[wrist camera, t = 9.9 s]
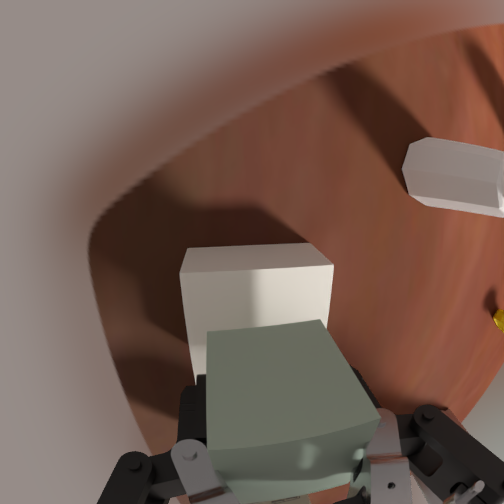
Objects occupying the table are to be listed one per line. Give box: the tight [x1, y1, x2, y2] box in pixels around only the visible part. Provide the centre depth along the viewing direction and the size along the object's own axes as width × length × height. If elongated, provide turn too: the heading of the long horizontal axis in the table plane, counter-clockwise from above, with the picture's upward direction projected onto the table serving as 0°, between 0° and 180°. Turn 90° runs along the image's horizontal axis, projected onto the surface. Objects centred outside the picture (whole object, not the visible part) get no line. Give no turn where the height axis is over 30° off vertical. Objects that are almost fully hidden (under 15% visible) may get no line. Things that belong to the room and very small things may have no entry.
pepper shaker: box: [402, 137, 504, 218], centre depth 13 cm, size 5×5×11 cm
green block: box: [206, 319, 381, 504], centre depth 10 cm, size 5×5×6 cm
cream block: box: [179, 243, 334, 383], centre depth 18 cm, size 8×8×4 cm
